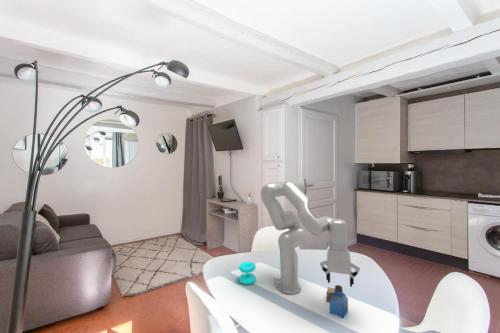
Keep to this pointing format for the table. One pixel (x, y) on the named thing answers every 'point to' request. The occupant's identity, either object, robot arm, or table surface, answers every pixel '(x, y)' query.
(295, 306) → the table surface
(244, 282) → the donuts
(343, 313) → the perfume bottle
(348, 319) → the table surface
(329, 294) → the letter cube
